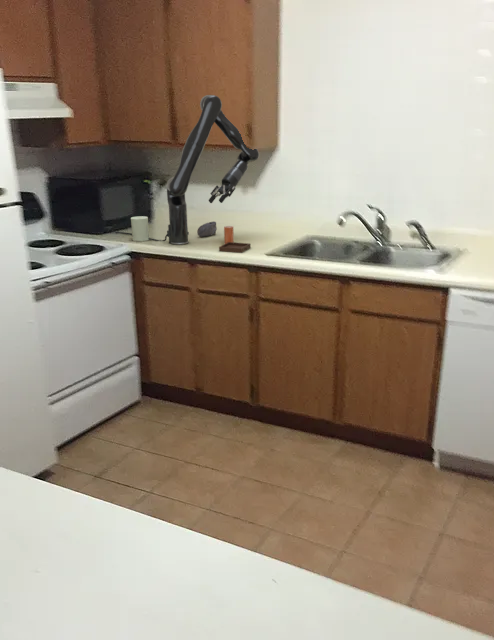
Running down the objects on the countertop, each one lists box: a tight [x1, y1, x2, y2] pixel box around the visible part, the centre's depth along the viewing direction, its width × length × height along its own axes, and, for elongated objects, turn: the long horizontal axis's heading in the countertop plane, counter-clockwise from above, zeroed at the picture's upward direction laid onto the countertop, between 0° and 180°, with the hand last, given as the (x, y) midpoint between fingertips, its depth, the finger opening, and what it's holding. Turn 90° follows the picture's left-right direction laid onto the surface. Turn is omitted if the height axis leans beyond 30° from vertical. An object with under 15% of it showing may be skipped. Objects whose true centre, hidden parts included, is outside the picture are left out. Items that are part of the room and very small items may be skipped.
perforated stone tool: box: [196, 221, 218, 238], centre depth 364 cm, size 15×5×7 cm, turn 139°
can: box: [130, 215, 150, 242], centre depth 357 cm, size 9×9×12 cm
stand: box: [218, 241, 252, 254], centre depth 333 cm, size 12×12×2 cm
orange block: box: [223, 225, 235, 245], centre depth 343 cm, size 5×5×9 cm
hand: (214, 201), depth 335 cm, fingers open, 8 cm apart
